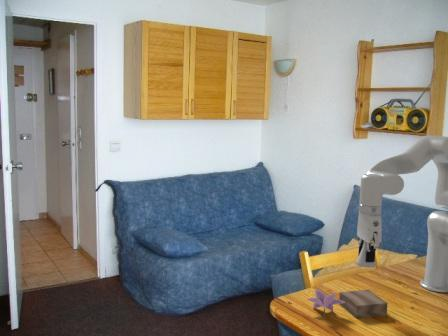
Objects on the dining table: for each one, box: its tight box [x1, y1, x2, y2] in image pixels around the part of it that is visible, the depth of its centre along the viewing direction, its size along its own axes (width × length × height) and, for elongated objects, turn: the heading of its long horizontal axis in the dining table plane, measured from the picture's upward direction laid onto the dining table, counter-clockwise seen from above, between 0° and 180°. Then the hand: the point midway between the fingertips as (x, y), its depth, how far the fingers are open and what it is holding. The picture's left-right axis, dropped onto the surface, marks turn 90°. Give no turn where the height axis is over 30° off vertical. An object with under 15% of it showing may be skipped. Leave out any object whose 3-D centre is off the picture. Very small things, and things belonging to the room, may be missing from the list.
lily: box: [306, 288, 345, 320], centre depth 164 cm, size 12×12×10 cm
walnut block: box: [338, 289, 389, 320], centre depth 169 cm, size 12×12×5 cm
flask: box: [355, 241, 377, 269], centre depth 166 cm, size 7×7×10 cm
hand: (366, 258), depth 167 cm, fingers closed on flask, 4 cm apart
